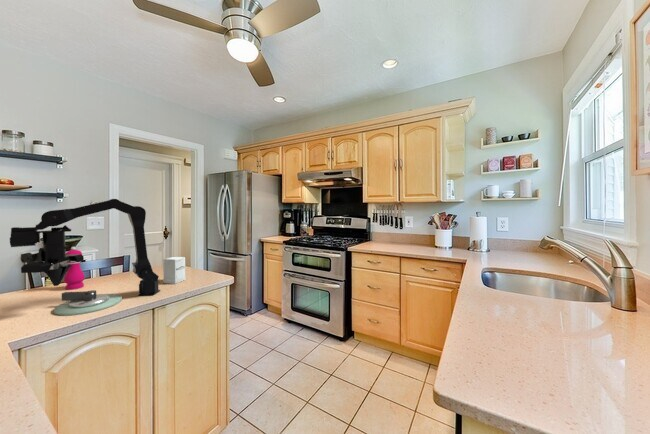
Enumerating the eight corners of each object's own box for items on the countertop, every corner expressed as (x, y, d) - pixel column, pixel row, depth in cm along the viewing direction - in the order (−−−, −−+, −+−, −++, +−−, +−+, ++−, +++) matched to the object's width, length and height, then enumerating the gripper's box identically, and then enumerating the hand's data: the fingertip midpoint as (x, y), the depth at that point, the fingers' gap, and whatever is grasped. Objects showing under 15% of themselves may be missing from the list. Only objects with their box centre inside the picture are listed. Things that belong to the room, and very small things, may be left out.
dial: (116, 296, 110) (116, 286, 110) (94, 307, 98) (94, 296, 98) (76, 297, 108) (76, 287, 108) (49, 308, 96) (48, 298, 96)
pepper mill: (74, 290, 121) (73, 248, 120) (59, 290, 121) (58, 247, 120) (89, 285, 128) (87, 245, 127) (74, 285, 128) (73, 245, 127)
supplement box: (175, 284, 131) (174, 259, 130) (163, 283, 133) (162, 258, 132) (186, 280, 138) (185, 256, 138) (174, 279, 140) (173, 256, 139)
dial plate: (132, 295, 115) (132, 292, 114) (98, 314, 95) (98, 310, 95) (83, 297, 112) (82, 294, 112) (37, 316, 92) (37, 313, 92)
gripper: (53, 240, 104) (55, 279, 105) (1, 248, 85) (3, 295, 86) (83, 240, 105) (85, 278, 106) (38, 248, 87) (41, 293, 87)
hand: (56, 285), depth 96 cm, fingers closed
